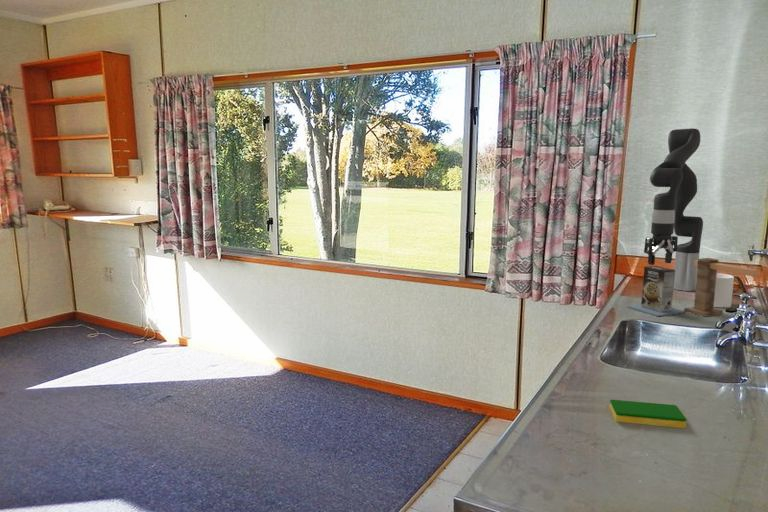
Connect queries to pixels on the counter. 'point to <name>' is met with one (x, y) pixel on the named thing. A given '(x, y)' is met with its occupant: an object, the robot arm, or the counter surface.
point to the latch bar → (731, 268)
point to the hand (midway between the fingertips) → (659, 263)
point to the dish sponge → (647, 413)
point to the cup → (723, 290)
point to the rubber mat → (655, 313)
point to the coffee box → (658, 288)
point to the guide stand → (705, 289)
